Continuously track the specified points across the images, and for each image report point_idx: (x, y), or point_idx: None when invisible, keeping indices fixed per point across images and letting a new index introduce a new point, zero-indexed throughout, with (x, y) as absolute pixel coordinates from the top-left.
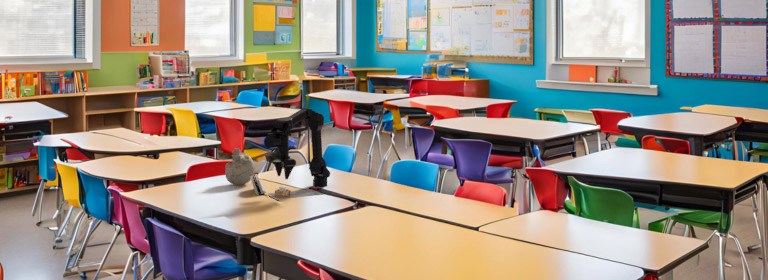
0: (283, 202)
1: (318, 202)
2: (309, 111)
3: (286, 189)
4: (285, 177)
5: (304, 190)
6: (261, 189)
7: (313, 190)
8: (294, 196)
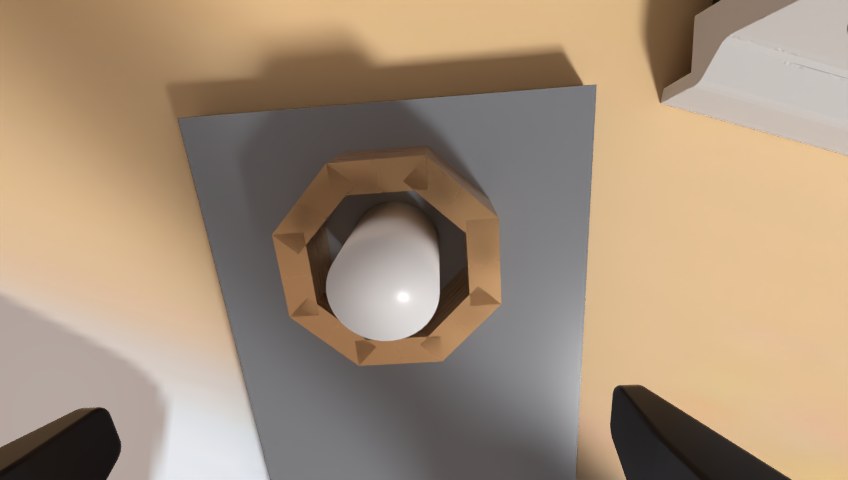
0: (132, 154)
1: None
2: None
3: (436, 339)
4: (29, 435)
5: None
6: (753, 5)
7: None
8: (281, 343)
